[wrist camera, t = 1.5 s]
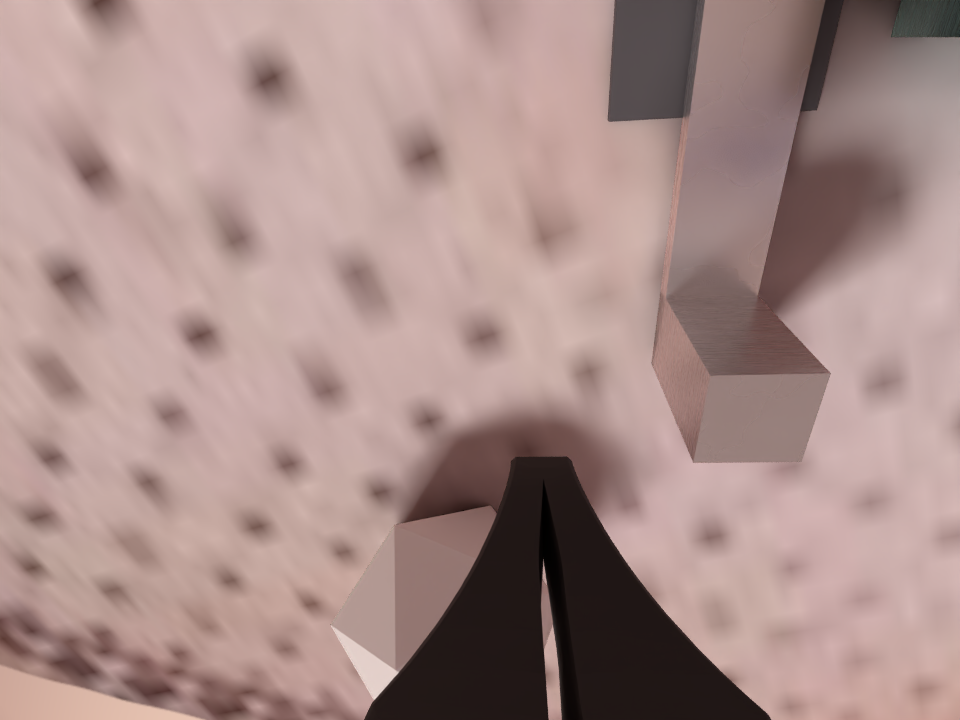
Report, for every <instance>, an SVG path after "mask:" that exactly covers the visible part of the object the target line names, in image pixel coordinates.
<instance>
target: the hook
mask: <svg viewBox="0 0 960 720" xmlns="http://www.w3.org/2000/svg"><path fill="white" fill-rule="evenodd" d="M824 4H825V0H697V6H696V14H695V22H694V30H693V38H692V46H691V54H690V62H689V70H688V78H687V86H686V94H685V102H684V110H683V118H682V126H681V133H680V141H679V149H678V157H677V165H676V173H675V181H674V189H673V197H672V205H671V213H670V221H669V229H668V237H667V245H666V253H665V261H664V269H663V276H662V284H661V292H660V300H659V308H658V316H657V324H656V332H655V340H654V348H653V356H652V366H653V368H654V370H655V373H656V375H657V378H658V380H659V382H660V385H661V387H662V389H663V392H664V394H665V397H666V399H667V401H668V404H669V406H670V408H671V411H672V413H673V416H674V418H675V420H676V423H677V425H678V427H679V430H680V432H681V435H682V437H683V439H684V442H685V444H686V446H687V449H688V451H689V454H690V456H691V458H692V461H693V463H722V462H801V461H802V458H803V455H804V452H805V449H806V446H807V443H808V440H809V437H810V434H811V431H812V428H813V425H814V422H815V419H816V416H817V413H818V410H819V407H820V404H821V401H822V398H823V395H824V392H825V389H826V386H827V383H828V380H829V377H830V374H831V373H830V372H829V371H828V370H827V369H826V368H825V367H824V366H823V365H822V364H821V363H820V361H819V360H818V359H817V358H816V357H815V356H814V355H813V354H812V353H811V352H810V351H809V350H808V349H807V348H806V347H805V346H804V344H803V343H802V342H801V341H800V340H799V339H798V338H797V337H796V336H795V335H794V334H793V333H792V332H791V331H790V330H789V329H788V327H787V326H786V325H785V324H784V323H783V322H782V321H781V320H780V319H779V318H778V317H777V316H776V315H775V314H774V313H773V311H772V310H771V309H770V308H769V307H768V306H767V305H766V304H765V303H764V302H763V301H762V300H761V299H760V298H759V297H758V293H759V288H760V284H761V279H762V275H763V271H764V266H765V262H766V258H767V253H768V249H769V244H770V240H771V236H772V231H773V227H774V223H775V218H776V214H777V209H778V205H779V201H780V196H781V192H782V188H783V183H784V179H785V174H786V170H787V166H788V161H789V157H790V153H791V148H792V144H793V139H794V135H795V131H796V126H797V122H798V118H799V113H800V109H801V104H802V100H803V96H804V91H805V87H806V83H807V78H808V74H809V69H810V65H811V61H812V56H813V52H814V48H815V43H816V39H817V34H818V30H819V26H820V21H821V17H822V13H823V8H824ZM891 37H960V0H901V3H900V7H899V10H898V14H897V17H896V21H895V24H894V28H893V31H892V35H891Z"/></svg>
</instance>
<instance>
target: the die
mask: <svg viewBox="0 0 960 720" xmlns="http://www.w3.org/2000/svg"><path fill="white" fill-rule="evenodd" d="M496 514H497V513H496V512H495V511H494V509H493V508H492V506H486V507H481V508H476V509H471V510H466V511H461V512H456V513H451V514H446V515H441V516H436V517H431V518H426V519H421V520H416V521H411V522H406V523H401V524H396V525H394V526H393V528H392V529H391V531H390V532H389V534H388V536H387V537H386V539H385V540H384V542H383V543H382V545H381V546H380V548H379V550H378V551H377V553H376V554H375V556H374V557H373V559H372V561H371V562H370V564H369V565H368V567H367V568H366V570H365V571H364V573H363V575H362V576H361V578H360V579H359V581H358V582H357V584H356V585H355V587H354V589H353V590H352V592H351V593H350V595H349V596H348V598H347V600H346V601H345V603H344V604H343V606H342V607H341V609H340V610H339V612H338V614H337V615H336V617H335V618H334V620H333V621H332V623H331V624H330V625H331V627H332V628H333V630H334V632H335V634H336V635H337V637H338V639H339V641H340V642H341V644H342V646H343V648H344V649H345V651H346V653H347V654H348V656H349V658H350V660H351V661H352V663H353V665H354V667H355V668H356V670H357V672H358V674H359V675H360V677H361V679H362V680H363V682H364V684H365V686H366V687H367V689H368V691H369V693H370V694H371V696H372V698H373V700H375V699H376V698H377V697H378V695H379V694H380V693H381V692H382V691H383V690H384V689H385V687H386V686H387V685H388V684H389V683H390V682H391V681H392V679H393V678H394V677H395V676H396V675H397V674H398V673H399V671H400V670H401V669H402V668H403V667H404V666H405V664H406V663H407V662H408V661H409V660H410V658H411V657H412V656H413V654H414V653H415V652H416V650H417V649H418V648H419V647H420V645H421V644H422V643H423V641H424V640H425V639H426V637H427V636H428V635H429V633H430V632H431V631H432V629H433V628H434V627H435V625H436V624H437V622H438V621H439V620H440V618H441V617H442V615H443V614H444V612H445V611H446V609H447V608H448V606H449V605H450V603H451V601H452V600H453V598H454V597H455V595H456V594H457V592H458V590H459V589H460V587H461V585H462V584H463V582H464V580H465V579H466V577H467V575H468V573H469V572H470V570H471V568H472V566H473V564H474V562H475V560H476V558H477V557H478V555H479V553H480V550H481V548H482V546H483V544H484V542H485V540H486V538H487V536H488V533H489V531H490V529H491V527H492V525H493V522H494V520H495V517H496ZM541 613H542V630H543V645H544V648H545V645H546V642H547V639H548V636H549V634H550V631H551V628H552V625H553V620H552V614H551V607H550V600H549V593H548V587H547V585H546V583H545V582H544V581H543V579H542V597H541Z"/></svg>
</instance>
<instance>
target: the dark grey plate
mask: <svg viewBox="0 0 960 720" xmlns="http://www.w3.org/2000/svg"><path fill="white" fill-rule="evenodd" d="M843 1H844V0H825V4H824V8H823V13H822V17H821V21H820V26H819V30H818V34H817V39H816V43H815V48H814V52H813V56H812V61H811V65H810V69H809V74H808V78H807V83H806V87H805V91H804V96H803V100H802V104H801V109H800V111H811V110H817V108H818V104H819V100H820V95H821V91H822V87H823V83H824V79H825V75H826V71H827V67H828V63H829V58H830V54H831V50H832V46H833V42H834V38H835V34H836V30H837V26H838V21H839V17H840V13H841V9H842V5H843ZM696 6H697V0H615V8H614V24H613V41H612V58H611V75H610V91H609V108H608V121H609V122H612V121H630V120H648V119H666V118H683V110H684V102H685V94H686V86H687V78H688V70H689V62H690V54H691V46H692V38H693V30H694V22H695V14H696Z"/></svg>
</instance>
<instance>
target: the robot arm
mask: <svg viewBox="0 0 960 720" xmlns="http://www.w3.org/2000/svg"><path fill="white" fill-rule="evenodd" d="M543 559H544V566H545V573H546V580H547V587H548V593H549V600H550V607H551V614H552V620H553V627H554V634H555V641H556V648H557V657H558V666H559V680H560V696H561V712H562V720H771V718H770V717H769V715H768V714H767V713H766V712H765V711H764V710H762V709H761V708H760V707H759V706H758V705H757V704H756V703H755V702H753V701H752V700H751V699H750V698H749V697H748V696H747V695H746V694H744V693H743V692H742V691H741V690H740V689H739V688H738V687H737V686H736V685H735V684H734V683H733V682H732V681H731V680H729V679H728V678H727V677H726V676H725V675H724V674H723V673H722V672H721V671H720V670H719V669H718V668H717V667H716V666H715V665H714V664H713V663H712V662H711V661H710V660H709V659H708V658H707V657H706V656H705V655H704V654H703V653H702V652H701V651H700V650H699V649H698V648H697V647H696V646H695V645H694V644H693V642H692V641H691V640H690V639H689V638H688V637H687V636H686V635H685V634H684V633H683V632H682V630H681V629H680V628H679V627H678V626H677V625H676V624H675V623H674V622H673V621H672V619H671V618H670V617H669V616H668V615H667V614H666V613H665V612H664V610H663V609H662V608H661V607H660V606H659V604H658V603H657V602H656V601H655V600H654V598H653V597H652V596H651V595H650V593H649V592H648V591H647V590H646V588H645V587H644V586H643V584H642V583H641V582H640V580H639V579H638V578H637V577H636V575H635V574H634V573H633V571H632V570H631V568H630V567H629V566H628V564H627V563H626V561H625V560H624V558H623V557H622V555H621V554H620V552H619V551H618V549H617V548H616V546H615V545H614V543H613V542H612V540H611V539H610V537H609V535H608V534H607V532H606V531H605V529H604V527H603V525H602V524H601V522H600V520H599V519H598V517H597V515H596V513H595V512H594V510H593V508H592V506H591V504H590V502H589V500H588V499H587V497H586V494H585V492H584V490H583V488H582V486H581V484H580V482H579V480H578V477H577V475H576V472H575V470H574V467H573V464H572V461H571V460H570V459H569V458H568V457H515V458H514V459H513V460H512V461H511V469H510V474H509V478H508V482H507V486H506V489H505V492H504V495H503V499H502V501H501V504H500V507H499V509H498V512H497V514H496V517H495V520H494V522H493V525H492V527H491V529H490V531H489V533H488V536H487V538H486V540H485V542H484V544H483V546H482V548H481V550H480V553H479V555H478V557H477V558H476V560H475V562H474V564H473V566H472V568H471V570H470V572H469V573H468V575H467V577H466V579H465V580H464V582H463V584H462V585H461V587H460V589H459V590H458V592H457V594H456V595H455V597H454V598H453V600H452V601H451V603H450V605H449V606H448V608H447V609H446V611H445V612H444V614H443V615H442V617H441V618H440V620H439V621H438V622H437V624H436V625H435V627H434V628H433V629H432V631H431V632H430V633H429V635H428V636H427V637H426V639H425V640H424V641H423V643H422V644H421V645H420V647H419V648H418V649H417V650H416V652H415V653H414V654H413V656H412V657H411V658H410V660H409V661H408V662H407V663H406V664H405V666H404V667H403V668H402V669H401V670H400V671H399V673H398V674H397V675H396V676H395V677H394V678H393V679H392V681H391V682H390V683H389V684H388V685H387V686H386V687H385V689H384V690H383V691H382V692H381V693H380V694H379V695H378V697H377V698H376V699H375V700H374V701H373V702H372V704H371V706H370V708H369V710H368V712H367V715H366V717H365V719H364V720H549V719H548V705H547V691H546V676H545V661H544V645H543V630H542V613H541V597H542V574H543Z"/></svg>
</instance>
